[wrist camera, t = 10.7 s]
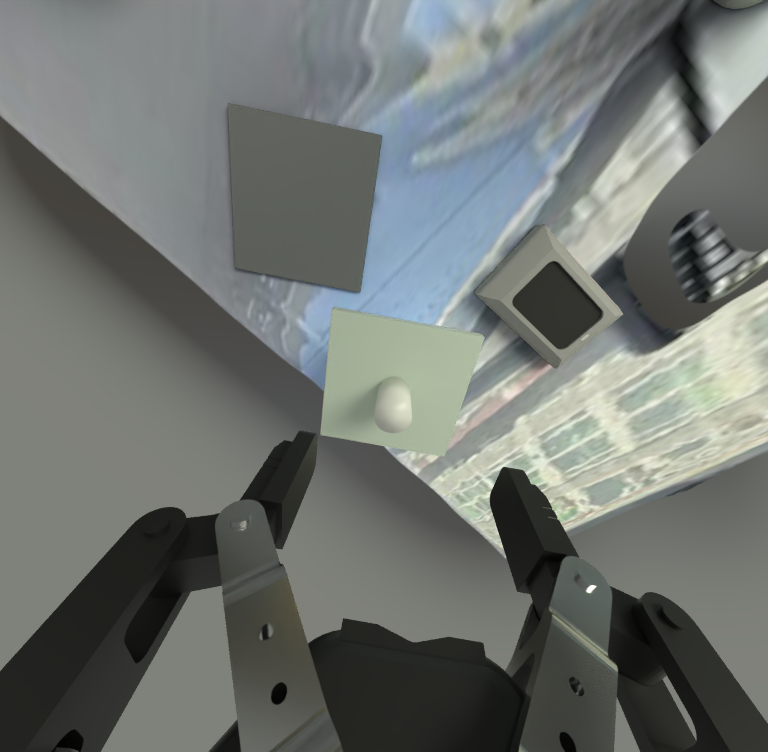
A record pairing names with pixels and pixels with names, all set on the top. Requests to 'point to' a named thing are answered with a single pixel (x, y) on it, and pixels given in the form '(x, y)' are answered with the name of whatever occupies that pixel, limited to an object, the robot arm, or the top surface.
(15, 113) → the top surface
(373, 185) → the mat
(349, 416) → the cover
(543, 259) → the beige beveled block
